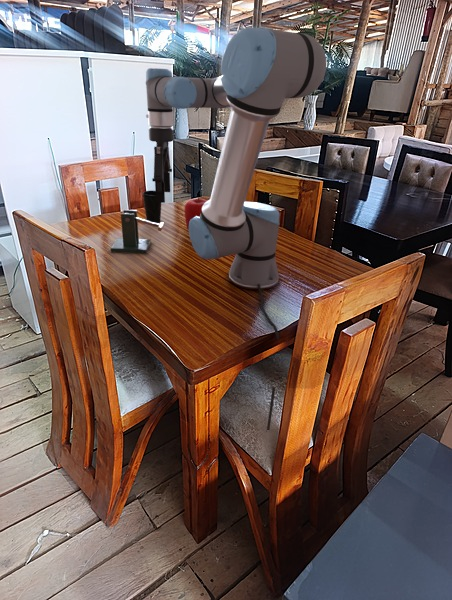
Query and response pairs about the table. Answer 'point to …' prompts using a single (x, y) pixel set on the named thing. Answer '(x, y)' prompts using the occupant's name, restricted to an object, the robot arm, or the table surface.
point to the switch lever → (149, 222)
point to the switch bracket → (130, 236)
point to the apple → (193, 209)
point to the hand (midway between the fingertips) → (163, 197)
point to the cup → (152, 207)
